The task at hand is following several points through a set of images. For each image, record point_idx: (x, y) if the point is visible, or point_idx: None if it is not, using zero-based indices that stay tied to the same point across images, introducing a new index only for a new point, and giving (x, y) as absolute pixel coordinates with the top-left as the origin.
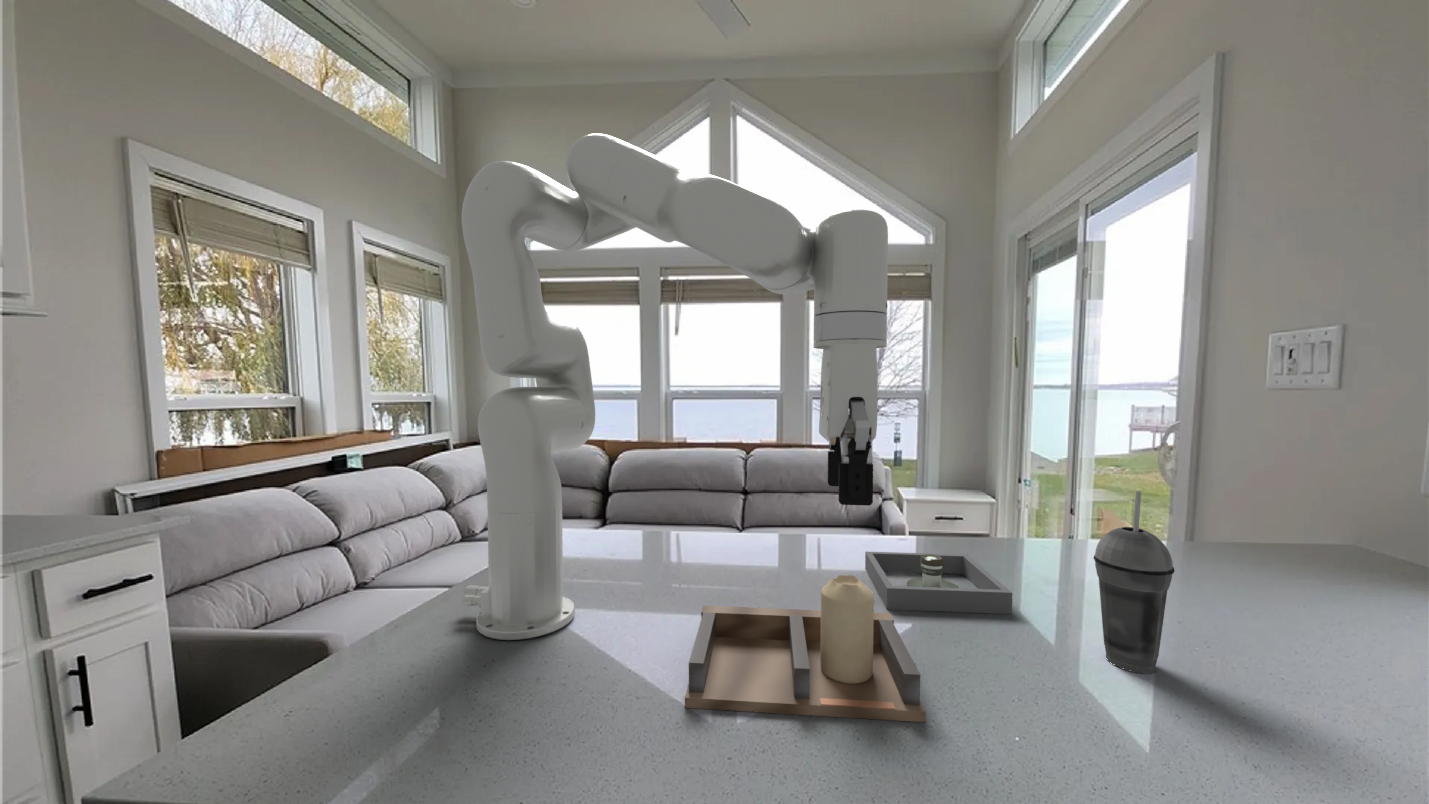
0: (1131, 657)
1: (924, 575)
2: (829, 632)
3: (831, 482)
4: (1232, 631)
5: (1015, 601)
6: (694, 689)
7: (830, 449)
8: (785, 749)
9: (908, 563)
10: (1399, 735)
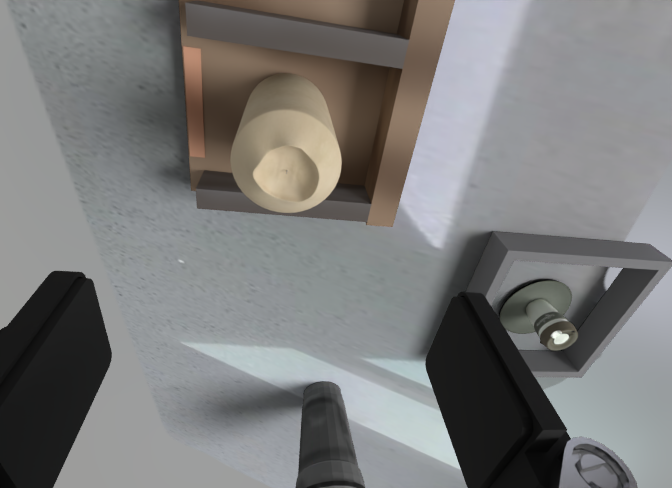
0: (306, 399)
1: (546, 311)
2: (256, 99)
3: (457, 307)
4: (370, 466)
5: None
6: None
7: (563, 449)
8: None
9: (611, 305)
10: (228, 461)
